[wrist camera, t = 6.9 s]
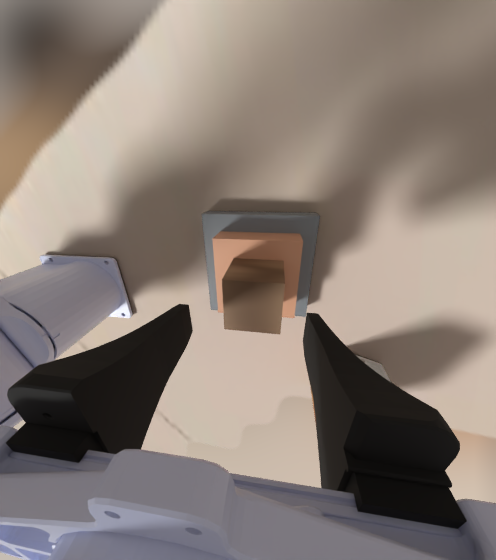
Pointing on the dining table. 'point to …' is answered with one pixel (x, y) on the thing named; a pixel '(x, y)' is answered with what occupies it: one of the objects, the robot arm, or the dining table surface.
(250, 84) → the dining table surface
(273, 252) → the terracotta tile
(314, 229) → the slate tile
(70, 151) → the dining table surface
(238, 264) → the walnut cube
